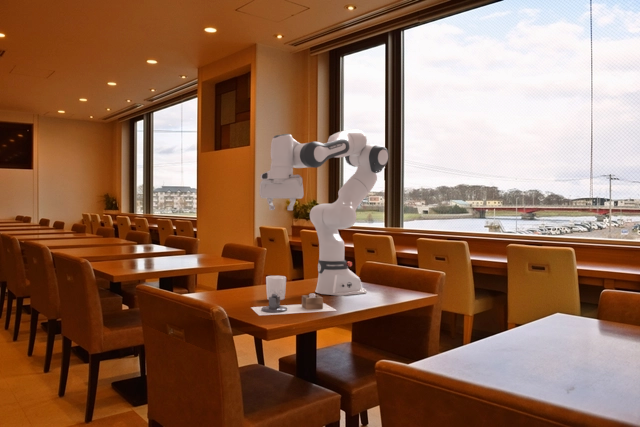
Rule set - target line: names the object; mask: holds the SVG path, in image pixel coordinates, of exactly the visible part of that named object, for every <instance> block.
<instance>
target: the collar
mask: <svg viewBox="0 0 640 427" xmlns="http://www.w3.org/2000/svg"><path fill="white" fill-rule="evenodd" d="M323 303H324V297H322V296H321V295H320V294H315V297H314V298H309V294H308V295H301V304H302V307H303V308H305V309H306V310H313V309H323Z"/></svg>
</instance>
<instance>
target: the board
mask: <svg viewBox="0 0 640 427" xmlns="http://www.w3.org/2000/svg"><path fill="white" fill-rule="evenodd" d="M266 306H267V305H266ZM266 306H253V307H250V309H252V310H253V312H255V314H257V315H258V316H259V317H260V316H271V315H272V316H273V315H274V316H275V315H290V314H292V315H293V314H303V313H306V314H308V313H317V312H318V313H321V312H337V311H338V309H335V308H334V307H332V306H330V305H328V304H327V303H324V302H323V309H313V310H306V309H305V308H303V307H302V303H301V304H287V305H286V304H284V305H281V304H280V306H284V307H287V311H285V312H279V313H268V312H263V311H262V310H261V308H262V307H266Z"/></svg>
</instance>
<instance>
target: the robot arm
mask: <svg viewBox="0 0 640 427" xmlns="http://www.w3.org/2000/svg"><path fill="white" fill-rule="evenodd" d="M367 140H368V139H367V135H366V134H365V133H364V131H363V130H360V129H346V130H342V131H338V132H335V133H333V134H332V135H329V137H328V140H327V142H325V143H322V142H319V141H310V142H305V143H300V142H299V141H297V140H296V139H294V138H293V135H292V134H290V133H283V134H277V135H274V136H273V137H272V140H271V144H270V158H271V163H270V170H268V171H265V172H263V173H261V174H260V177H259V178H260V183H259V197H260V199H266V202H267V204H268V210H269V211H275V209H276V206H275V205H274V203H273V201H274V199H289V202H290V203H289V205H287V207H286V208H287V211H293V210H294V206H295V203H296V200H297V199H303V198H304V196H305V194H304V184H303V177H302V176H301V175H300V174H294V173H293V172H294V168H295V169H303V168H305V169H306V168H315V169H316V168H319V167H321V166H323V165H324V164H325V163H326V162H327V161H328V160H329V159H332V158H344V159H345V162H346V163H347V164H348V165H349V166H351V167H354V168H355V167H356V171H355V172H354V173H353V174H352V175H351V176H350V177H349V179H348V180H347V181H346V182H345V183H344V184H343V185H342V186H341V187H340V188H339V190H338V192H337V193H338V194H337V195H338V197H337V199H336V200H335V201H334V202H332V203H320V204H317V205H314V206H313V207H312V208H311V209H310V212H309V219H310V222H311V223H312V224H313V227H314V228H315V231H316V235H317V238H318V244H319V246H318V247H319V248H318V250H319V251H318V252H319V253H318V254H319V257H318V260H317V261H318V264H317V271H318V272H317V273H318V276H317V284H316V288H315V294H316V293H317V294H319V295H320V294H321V295H328V296H329V295H331V296H340V297H341V296H352V295H360V294H367V289H365V288H364V287H362V280H361V279H360V278H361V277H359V276H358V275H357V274H356V273H354V272H353V271H352V270H350V269H349V267H352V261H347V260H346V259H345V252H346V251H345V248H346V247H345V246H346V244H345V241H344V240H343V238H342V237H341V235H340V232H339V230H344V229H349V228H351V227H353V226H354V225H355V223H356V220H357V212H356V211H357V209H358V207H359V206H360V204H361V203H362V202H363V200H364V199H366V197H367V196H368V195H369V194H370V192H371V191H372V189H374V186H375V185H376V182H377V181H378V175H377V174H378V173H381V172H382V171H383V169H384V168H385V167H386V165H387V164H388V162H389V159H390V158H389V156H390V153H389V151H388V149H387V148H386V147H385V146H383V145H381V144H374V143H373V144H371V143H367V142H368V141H367Z"/></svg>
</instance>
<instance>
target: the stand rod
mask: <svg viewBox="0 0 640 427" xmlns="http://www.w3.org/2000/svg"><path fill="white" fill-rule="evenodd" d="M308 295H309V298H314V297H315V295H316V293H309V294H308Z"/></svg>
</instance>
